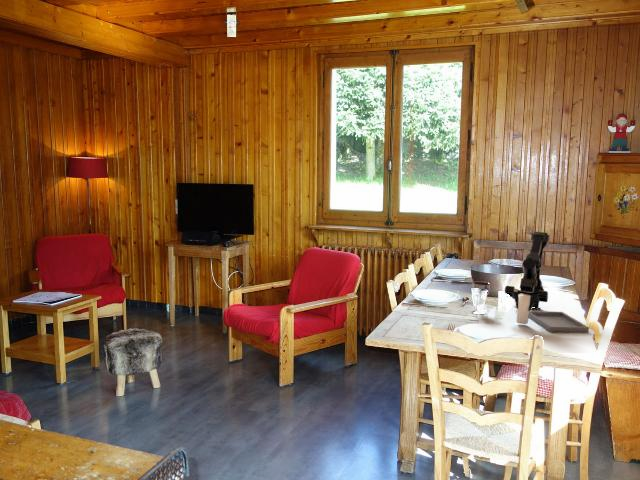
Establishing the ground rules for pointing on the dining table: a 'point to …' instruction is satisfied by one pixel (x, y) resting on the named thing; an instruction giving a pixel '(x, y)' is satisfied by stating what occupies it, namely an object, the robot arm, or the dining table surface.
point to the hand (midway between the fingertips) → (523, 309)
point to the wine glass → (481, 286)
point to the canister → (523, 308)
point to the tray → (557, 322)
